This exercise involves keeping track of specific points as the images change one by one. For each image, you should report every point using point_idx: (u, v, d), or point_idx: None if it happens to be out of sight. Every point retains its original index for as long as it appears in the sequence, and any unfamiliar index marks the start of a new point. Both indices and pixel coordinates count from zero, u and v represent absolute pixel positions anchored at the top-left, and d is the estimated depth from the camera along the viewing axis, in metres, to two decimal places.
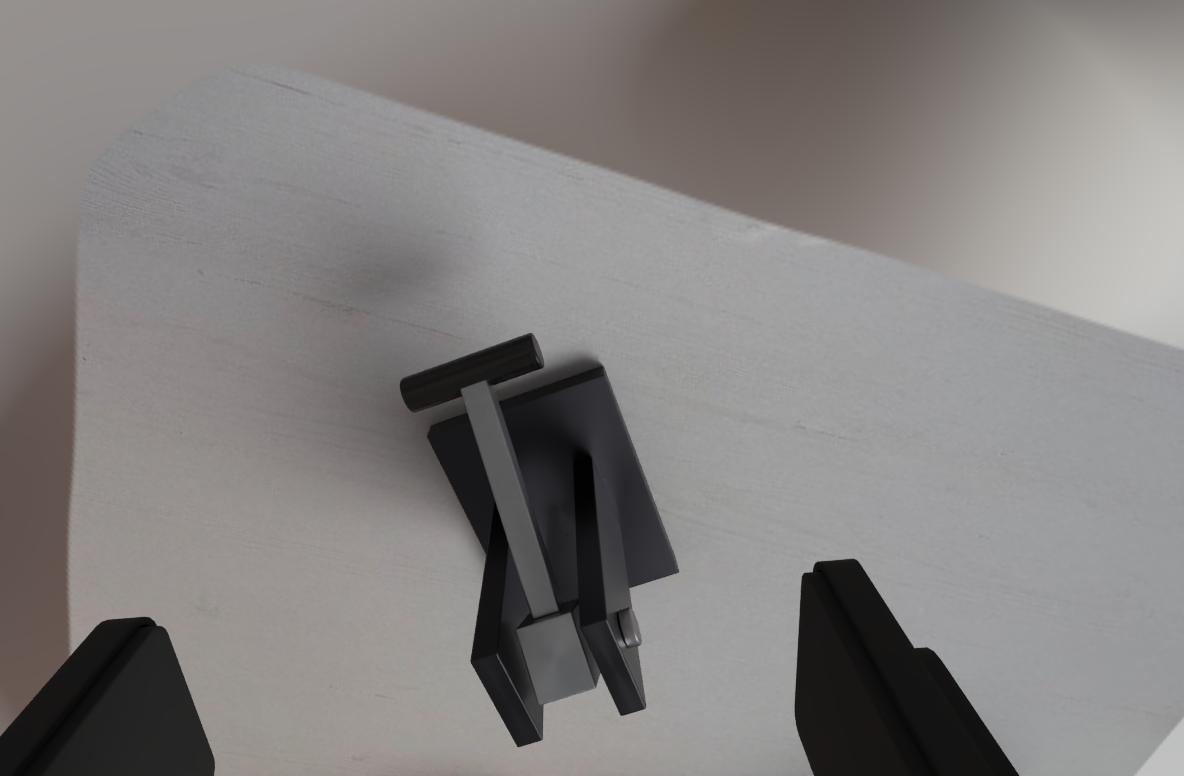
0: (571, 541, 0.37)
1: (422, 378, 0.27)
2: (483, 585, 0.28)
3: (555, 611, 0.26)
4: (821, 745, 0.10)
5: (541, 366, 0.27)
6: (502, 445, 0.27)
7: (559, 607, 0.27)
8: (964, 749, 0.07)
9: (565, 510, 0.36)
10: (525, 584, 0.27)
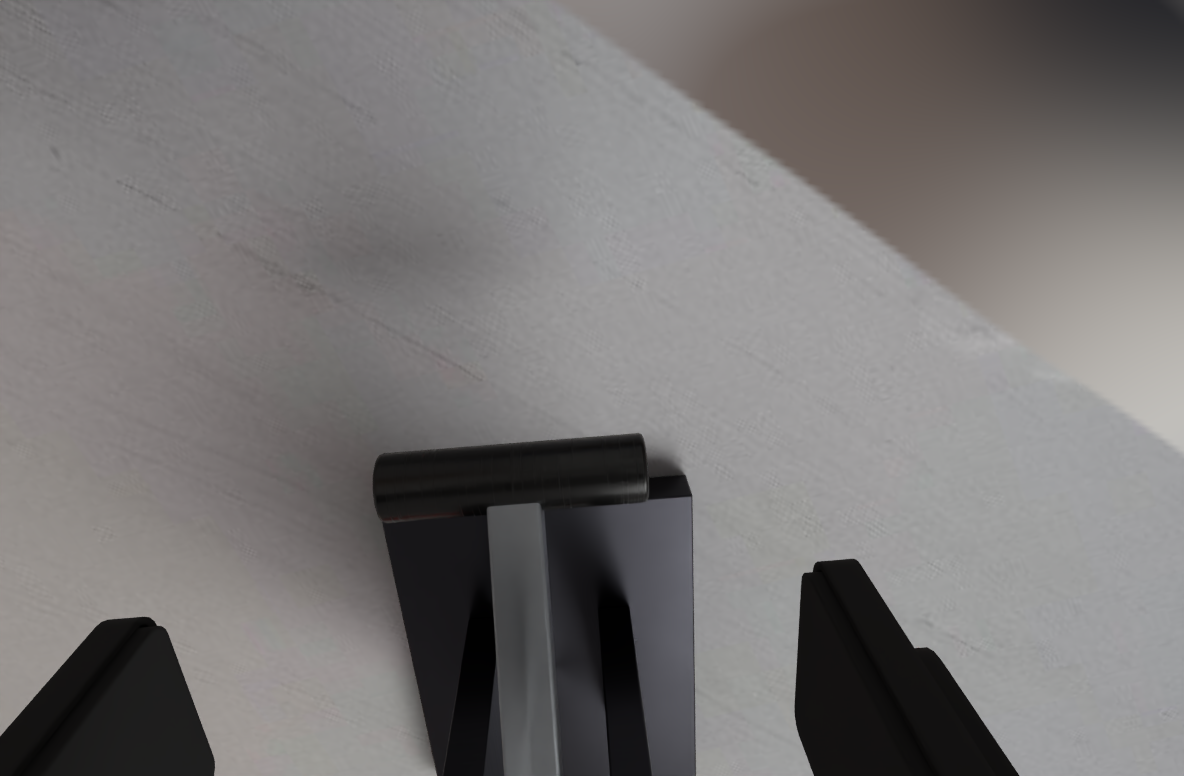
0: None
1: (420, 469, 0.14)
2: None
3: None
4: (821, 745, 0.10)
5: (645, 500, 0.15)
6: (541, 633, 0.14)
7: None
8: (964, 749, 0.07)
9: (563, 671, 0.23)
10: None
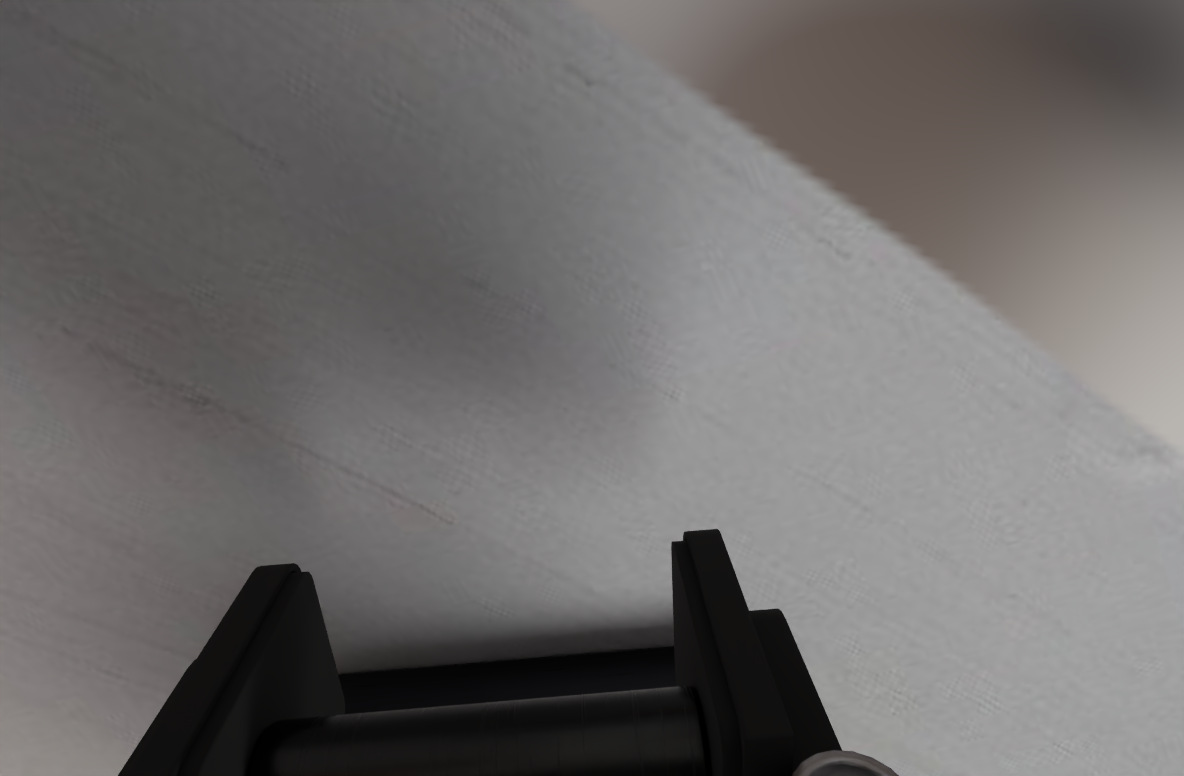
0: None
1: (326, 769, 0.08)
2: None
3: None
4: None
5: None
6: None
7: None
8: (763, 686, 0.08)
9: None
10: None
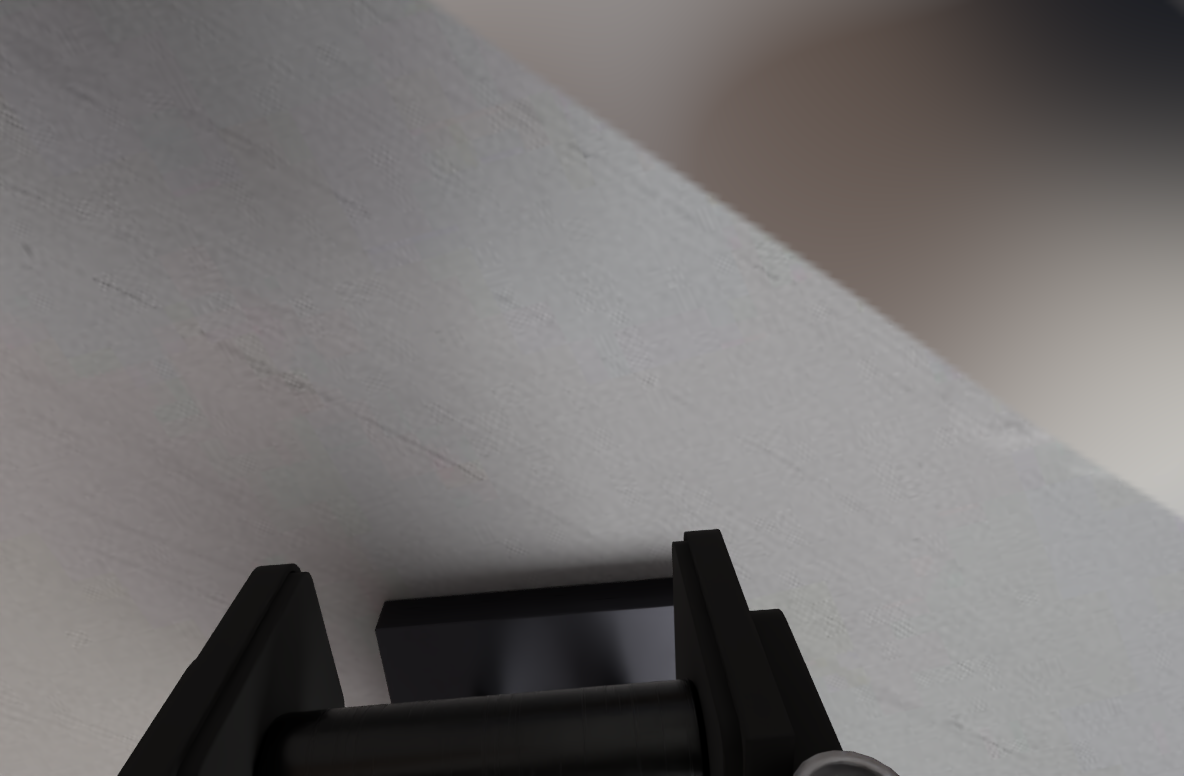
0: None
1: None
2: None
3: None
4: None
5: None
6: None
7: None
8: (764, 687, 0.08)
9: None
10: None
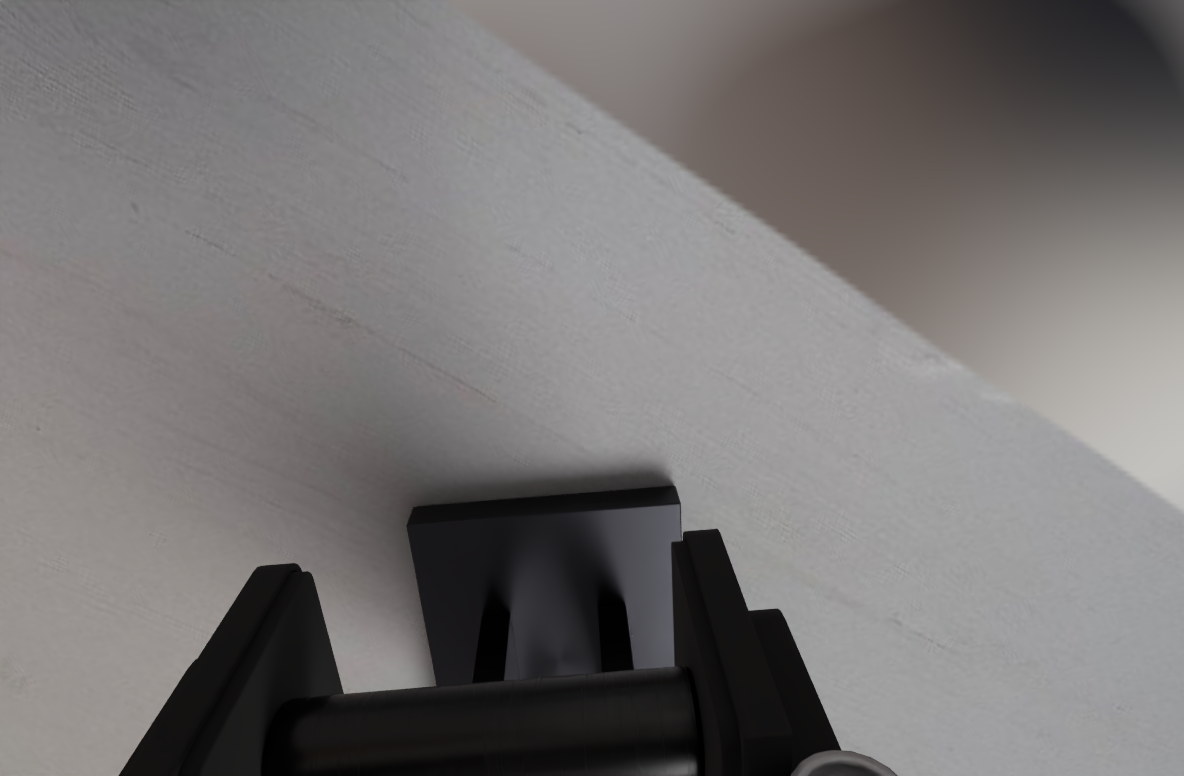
0: None
1: None
2: None
3: None
4: None
5: None
6: None
7: None
8: (763, 686, 0.08)
9: (566, 664, 0.26)
10: None
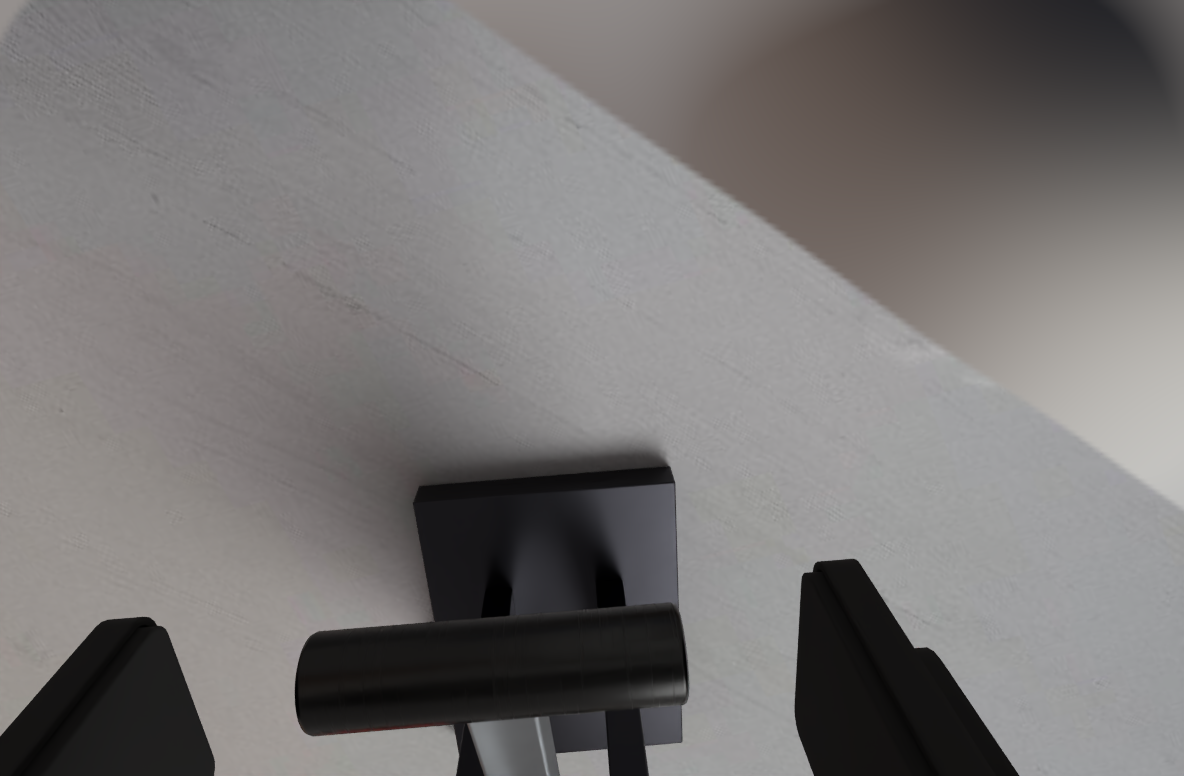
0: None
1: (364, 705, 0.10)
2: (460, 769, 0.19)
3: None
4: (821, 745, 0.10)
5: None
6: None
7: None
8: (964, 749, 0.07)
9: None
10: None
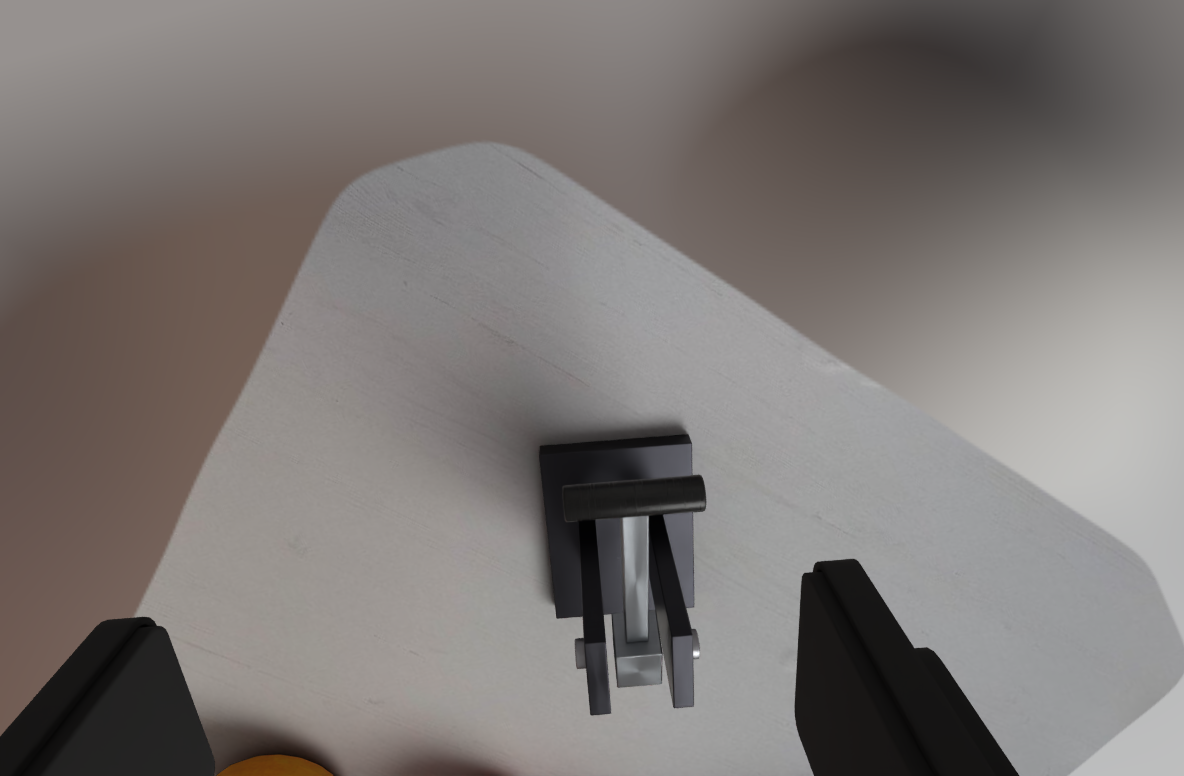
0: (620, 563, 0.45)
1: (588, 507, 0.27)
2: (583, 586, 0.36)
3: (645, 640, 0.34)
4: (821, 745, 0.10)
5: None
6: (644, 555, 0.30)
7: (648, 637, 0.34)
8: (964, 749, 0.07)
9: None
10: (629, 627, 0.33)
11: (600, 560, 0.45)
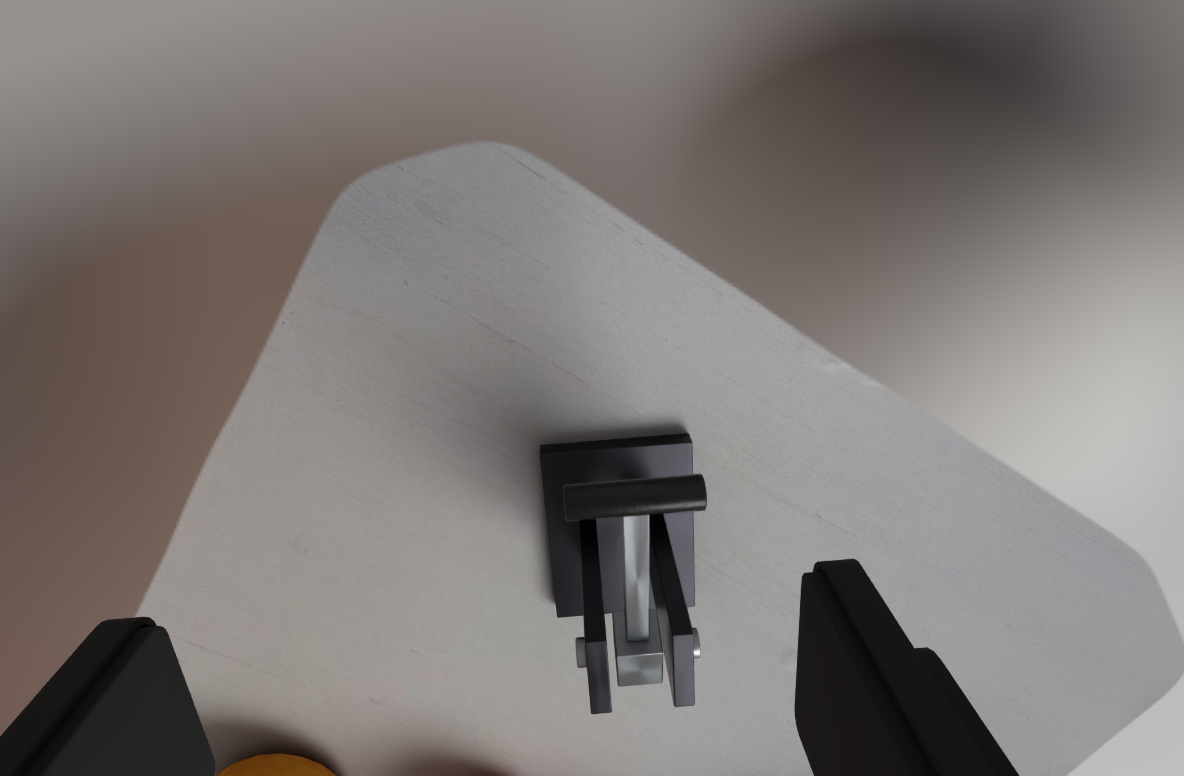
0: (621, 562, 0.45)
1: (589, 507, 0.27)
2: (584, 585, 0.36)
3: (646, 639, 0.34)
4: (821, 745, 0.10)
5: None
6: (645, 555, 0.30)
7: (649, 636, 0.34)
8: (963, 749, 0.07)
9: None
10: (630, 626, 0.33)
11: (601, 559, 0.45)
